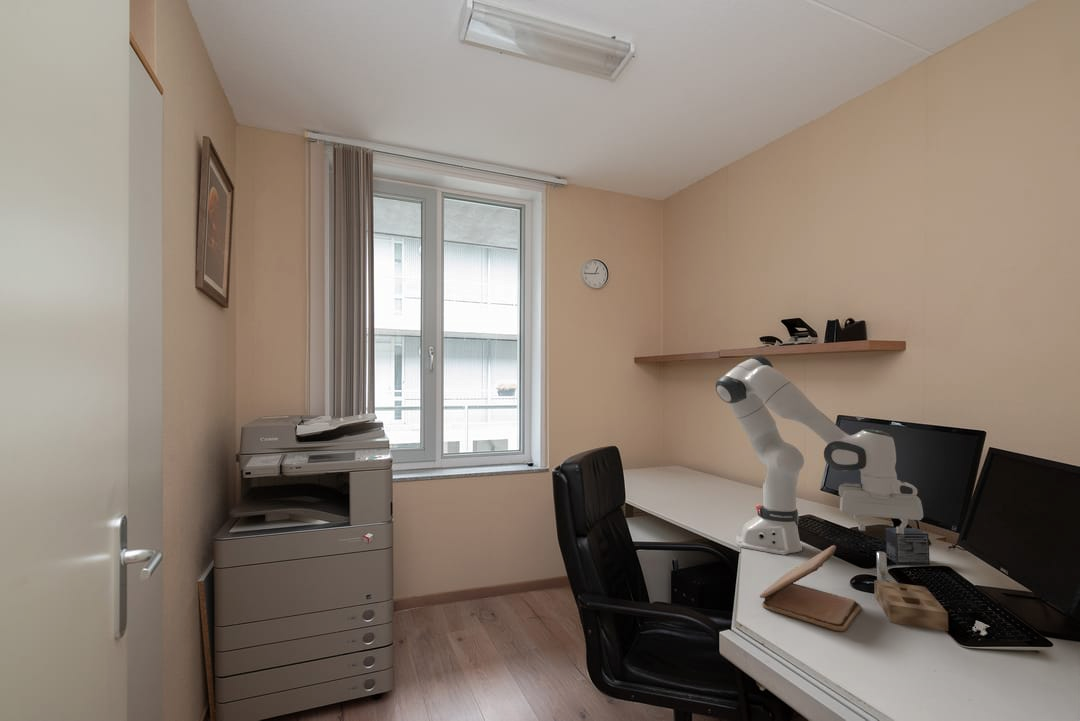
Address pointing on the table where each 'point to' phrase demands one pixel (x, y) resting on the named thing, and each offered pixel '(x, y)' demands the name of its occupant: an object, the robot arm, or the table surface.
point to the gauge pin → (881, 566)
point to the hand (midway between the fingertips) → (880, 531)
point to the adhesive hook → (980, 627)
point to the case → (810, 598)
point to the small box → (908, 546)
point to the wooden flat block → (910, 605)
